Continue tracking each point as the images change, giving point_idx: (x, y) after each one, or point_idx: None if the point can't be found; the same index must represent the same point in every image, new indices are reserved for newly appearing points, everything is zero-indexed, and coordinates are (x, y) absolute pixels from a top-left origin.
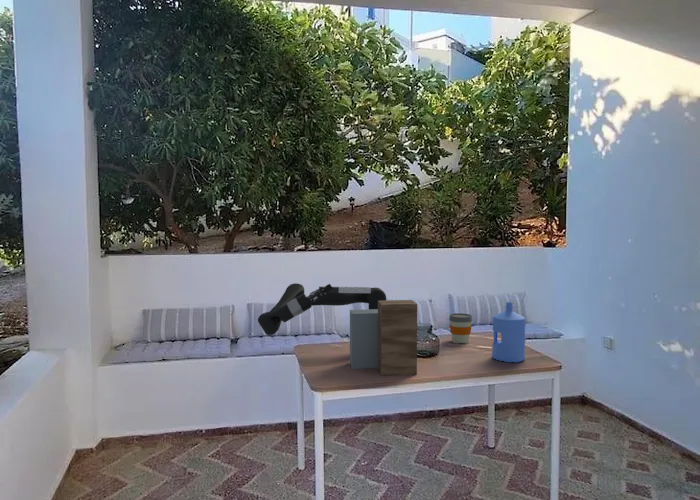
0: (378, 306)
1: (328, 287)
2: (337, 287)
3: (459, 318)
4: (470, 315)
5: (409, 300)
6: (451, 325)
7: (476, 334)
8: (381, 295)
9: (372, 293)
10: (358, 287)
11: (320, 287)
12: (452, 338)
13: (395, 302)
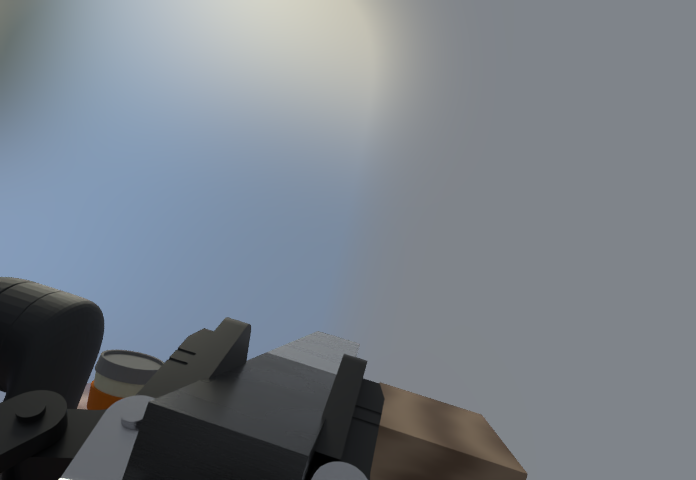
0: (392, 465)
1: (381, 412)
2: (326, 374)
3: (152, 373)
4: (149, 356)
5: (393, 389)
6: (113, 394)
7: (84, 393)
8: (98, 335)
9: (63, 326)
10: (329, 343)
11: (310, 447)
12: None
13: (445, 423)
